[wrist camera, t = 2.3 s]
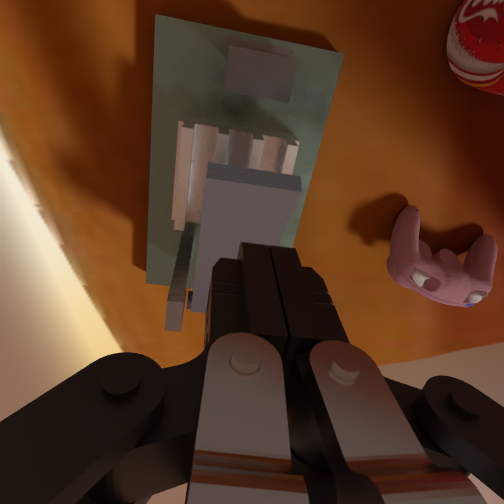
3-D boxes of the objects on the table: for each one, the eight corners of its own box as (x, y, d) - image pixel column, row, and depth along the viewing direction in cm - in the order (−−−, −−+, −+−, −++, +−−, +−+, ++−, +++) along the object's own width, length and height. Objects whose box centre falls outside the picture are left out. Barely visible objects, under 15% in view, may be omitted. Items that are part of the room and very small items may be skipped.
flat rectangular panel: (307, 166, 14) (309, 193, 14) (247, 301, 26) (247, 319, 25) (201, 149, 14) (197, 176, 13) (188, 295, 25) (186, 314, 24)
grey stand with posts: (338, 52, 25) (401, 61, 16) (276, 287, 34) (294, 372, 26) (159, 15, 23) (118, 1, 14) (148, 273, 33) (121, 359, 24)
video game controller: (373, 227, 34) (380, 293, 30) (408, 197, 30) (421, 268, 26) (457, 257, 36) (473, 322, 32) (498, 233, 32) (522, 302, 28)
